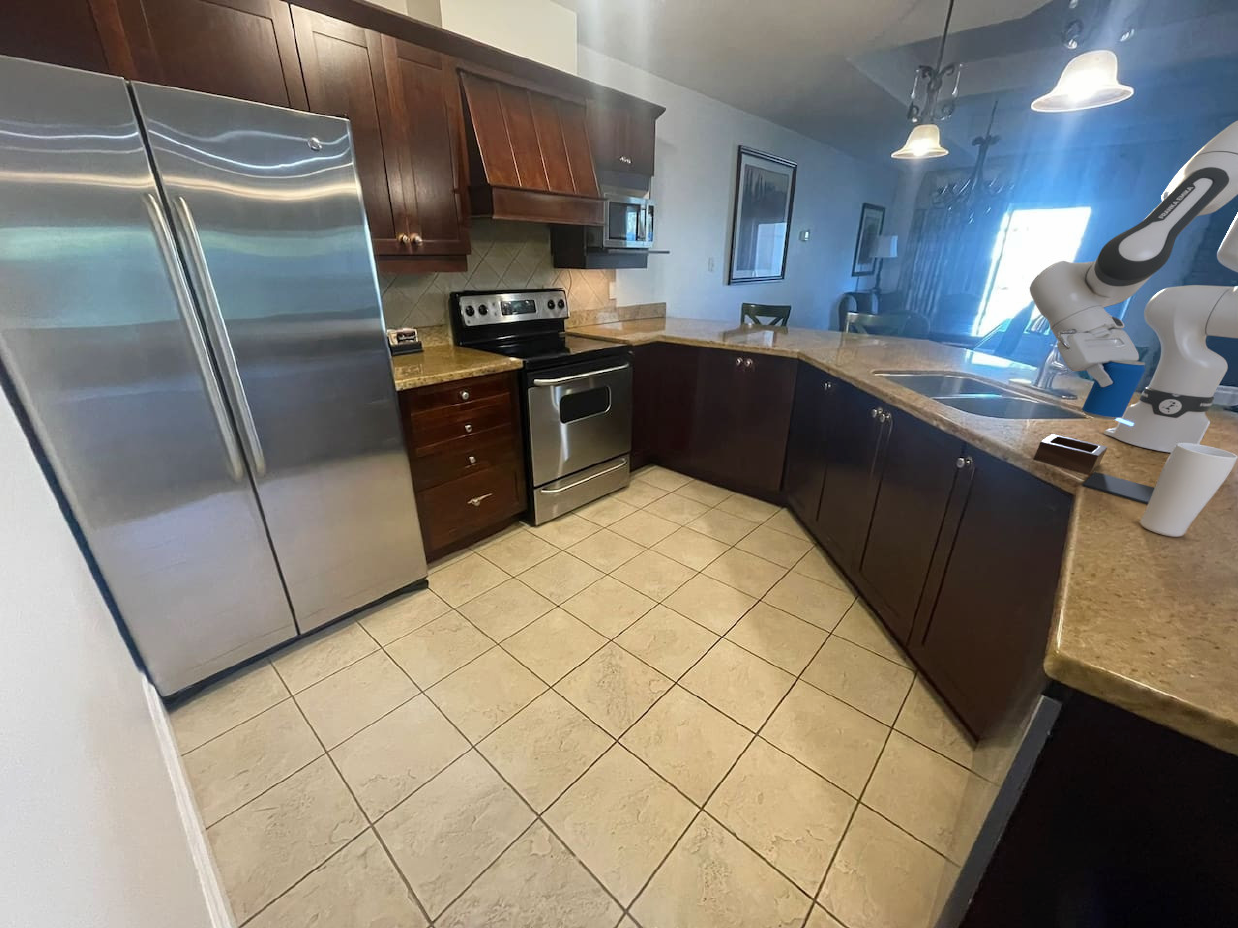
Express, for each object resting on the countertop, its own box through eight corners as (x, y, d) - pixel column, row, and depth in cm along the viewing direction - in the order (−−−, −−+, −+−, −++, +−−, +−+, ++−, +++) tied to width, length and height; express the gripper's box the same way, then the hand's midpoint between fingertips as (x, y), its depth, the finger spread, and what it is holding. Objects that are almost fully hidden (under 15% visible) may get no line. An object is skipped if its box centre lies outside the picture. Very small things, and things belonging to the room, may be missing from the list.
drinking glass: (1124, 523, 83) (1167, 444, 77) (1143, 517, 86) (1186, 440, 80) (1177, 543, 77) (1228, 460, 71) (1196, 536, 80) (1247, 455, 74)
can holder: (1044, 450, 116) (1052, 433, 114) (1099, 464, 109) (1107, 446, 107) (1032, 459, 111) (1040, 441, 109) (1089, 474, 103) (1098, 455, 102)
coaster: (1093, 473, 104) (1094, 471, 104) (1165, 492, 96) (1166, 490, 96) (1082, 485, 98) (1083, 483, 97) (1157, 507, 90) (1159, 505, 90)
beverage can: (1128, 422, 99) (1157, 365, 94) (1093, 419, 100) (1119, 362, 95) (1106, 413, 105) (1132, 359, 100) (1073, 410, 106) (1096, 357, 101)
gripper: (1072, 321, 97) (1110, 379, 92) (1125, 320, 104) (1163, 373, 100) (1039, 339, 102) (1073, 395, 98) (1092, 337, 110) (1126, 389, 105)
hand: (1119, 384), depth 99 cm, fingers closed on beverage can, 6 cm apart
